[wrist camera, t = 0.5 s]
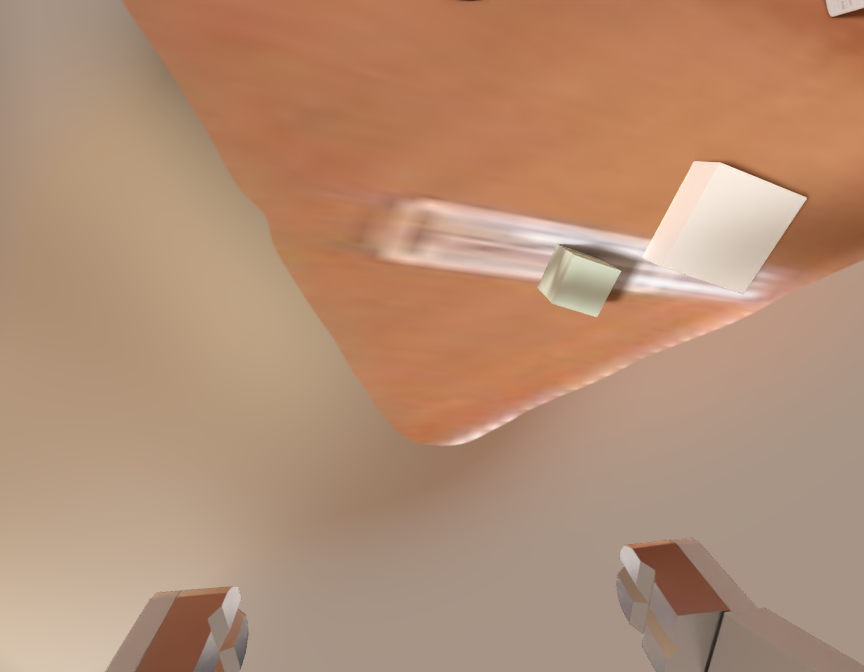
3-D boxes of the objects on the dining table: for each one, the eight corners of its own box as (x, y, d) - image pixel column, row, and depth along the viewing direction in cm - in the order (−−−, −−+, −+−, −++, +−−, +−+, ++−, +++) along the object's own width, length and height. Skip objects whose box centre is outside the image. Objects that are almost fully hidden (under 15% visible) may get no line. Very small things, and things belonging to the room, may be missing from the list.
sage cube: (556, 243, 42) (575, 255, 38) (598, 258, 43) (621, 270, 39) (537, 287, 44) (552, 303, 40) (577, 300, 45) (596, 317, 41)
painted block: (691, 161, 40) (720, 162, 36) (772, 193, 42) (807, 197, 38) (640, 256, 44) (661, 266, 40) (716, 282, 46) (743, 294, 42)
